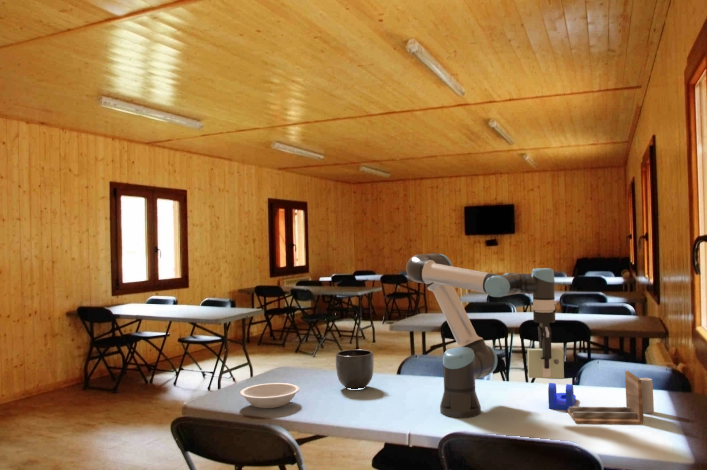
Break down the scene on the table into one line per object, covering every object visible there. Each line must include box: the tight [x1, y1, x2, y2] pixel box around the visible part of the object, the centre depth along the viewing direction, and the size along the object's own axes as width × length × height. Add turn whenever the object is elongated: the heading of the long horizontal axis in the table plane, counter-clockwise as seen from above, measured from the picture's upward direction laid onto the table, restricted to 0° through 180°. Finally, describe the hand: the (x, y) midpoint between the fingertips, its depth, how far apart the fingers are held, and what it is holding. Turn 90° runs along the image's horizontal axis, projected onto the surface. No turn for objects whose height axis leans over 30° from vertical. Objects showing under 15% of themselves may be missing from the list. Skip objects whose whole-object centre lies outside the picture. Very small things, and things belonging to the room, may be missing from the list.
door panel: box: [526, 348, 565, 379], centre depth 207 cm, size 12×4×10 cm, turn 81°
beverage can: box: [638, 377, 655, 415], centre depth 209 cm, size 5×5×12 cm
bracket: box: [547, 382, 577, 411], centre depth 223 cm, size 18×8×9 cm, turn 154°
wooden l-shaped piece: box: [566, 370, 644, 425], centre depth 204 cm, size 22×14×15 cm, turn 81°
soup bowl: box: [239, 382, 300, 409], centre depth 233 cm, size 24×24×7 cm
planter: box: [334, 348, 375, 389], centre depth 257 cm, size 17×17×16 cm
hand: (545, 375), depth 207 cm, fingers closed on door panel, 3 cm apart
